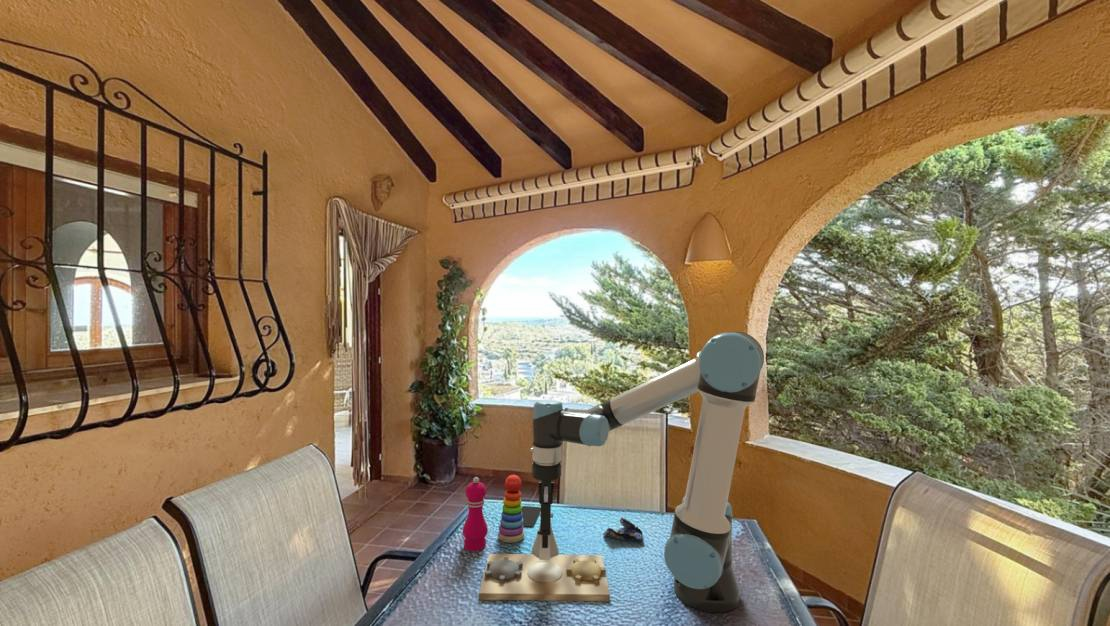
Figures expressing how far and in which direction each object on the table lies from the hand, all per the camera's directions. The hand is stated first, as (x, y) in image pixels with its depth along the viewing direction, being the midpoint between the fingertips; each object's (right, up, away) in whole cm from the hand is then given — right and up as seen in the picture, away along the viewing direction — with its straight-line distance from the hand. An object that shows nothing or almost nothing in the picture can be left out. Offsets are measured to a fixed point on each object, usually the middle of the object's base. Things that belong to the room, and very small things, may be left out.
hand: (544, 551), depth 116 cm
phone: (-7, -8, +36) cm, 38 cm away
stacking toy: (-11, -7, +21) cm, 25 cm away
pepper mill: (-21, -7, +16) cm, 27 cm away
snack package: (+24, -8, +23) cm, 34 cm away
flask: (0, -1, 0) cm, 1 cm away
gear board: (0, -7, 0) cm, 7 cm away
